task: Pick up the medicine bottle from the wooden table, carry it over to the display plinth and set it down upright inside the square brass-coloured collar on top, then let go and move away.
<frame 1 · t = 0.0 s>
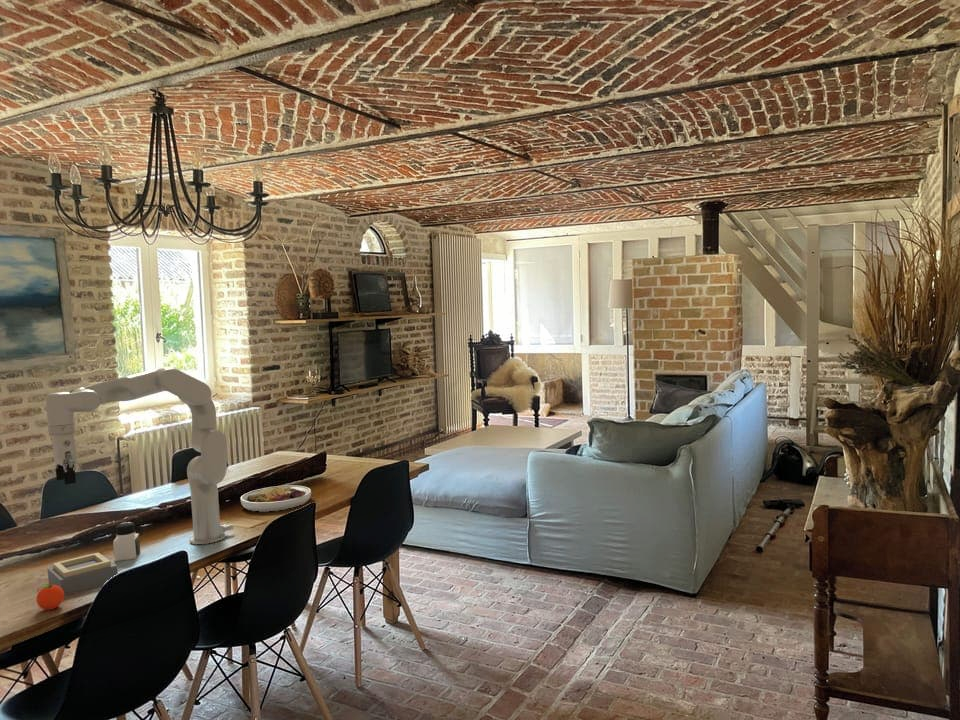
hand: (66, 481, 231), 31 cm above the table, tool pointing down, fingers open, 9 cm apart
bowl: (276, 505, 312), on the table
display plinth: (83, 582, 225), on the table
medicine bottle: (127, 557, 249), on the table
clementine: (49, 609, 205), on the table
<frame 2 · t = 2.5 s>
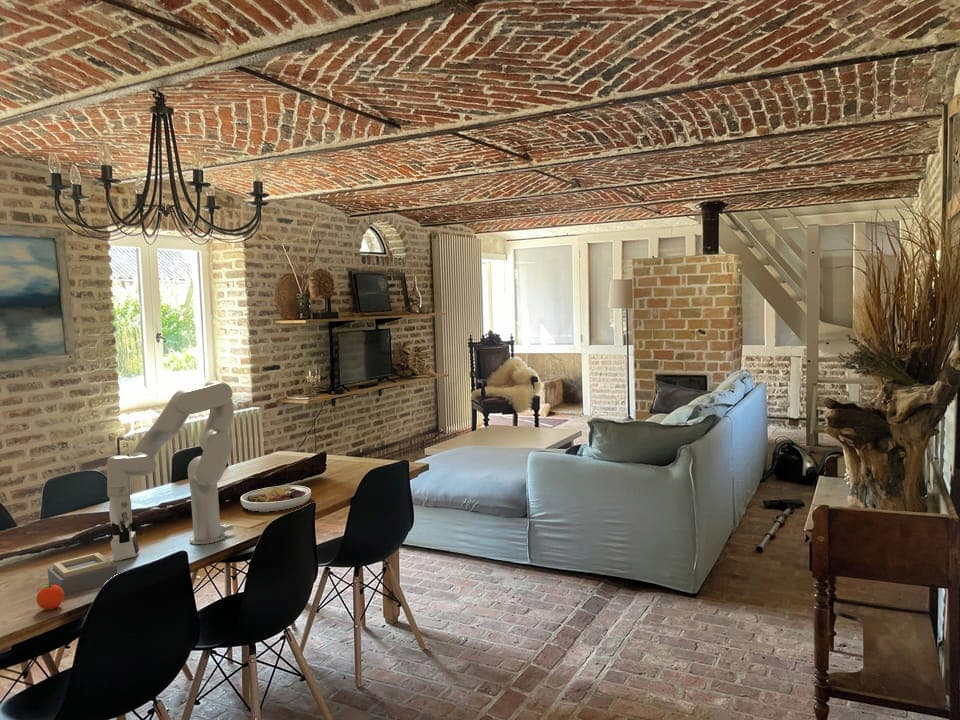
hand: (119, 539, 247), 7 cm above the table, tool pointing down, fingers open, 9 cm apart
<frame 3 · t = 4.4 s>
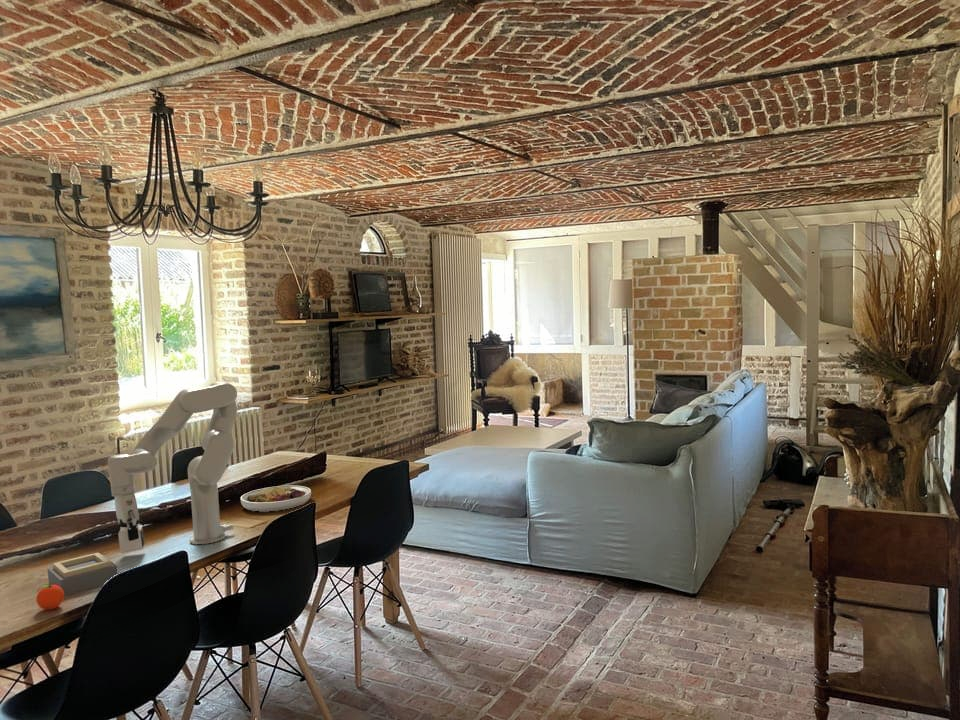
hand: (129, 536, 249), 7 cm above the table, tool pointing down, fingers closed on medicine bottle, 9 cm apart
medicine bottle: (133, 549, 250), point 2 cm above the table, touching gripper
everything else where it was.
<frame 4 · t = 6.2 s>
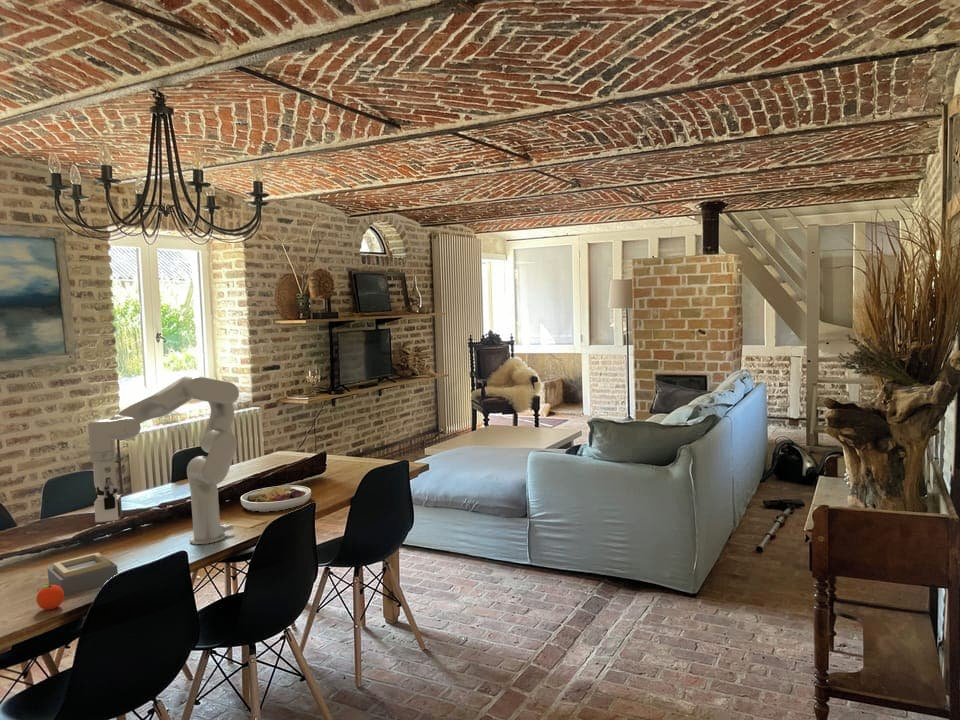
hand: (105, 506, 238), 21 cm above the table, tool pointing down, fingers closed on medicine bottle, 9 cm apart
medicine bottle: (109, 519, 239), point 16 cm above the table, touching gripper
everything else where it was.
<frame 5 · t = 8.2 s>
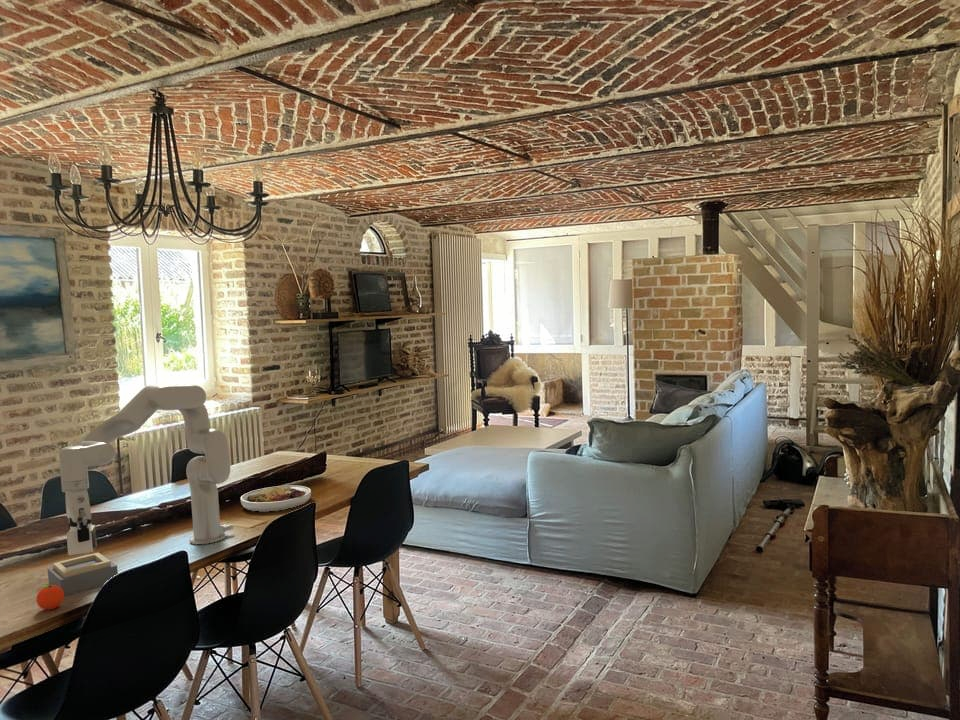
hand: (79, 538, 224), 14 cm above the table, tool pointing down, fingers closed on medicine bottle, 9 cm apart
medicine bottle: (83, 551, 225), point 10 cm above the table, touching gripper
everything else where it was.
when the fingers open (11 cm above the table, at t = 9.7 s): medicine bottle stays where it is, resting on display plinth.
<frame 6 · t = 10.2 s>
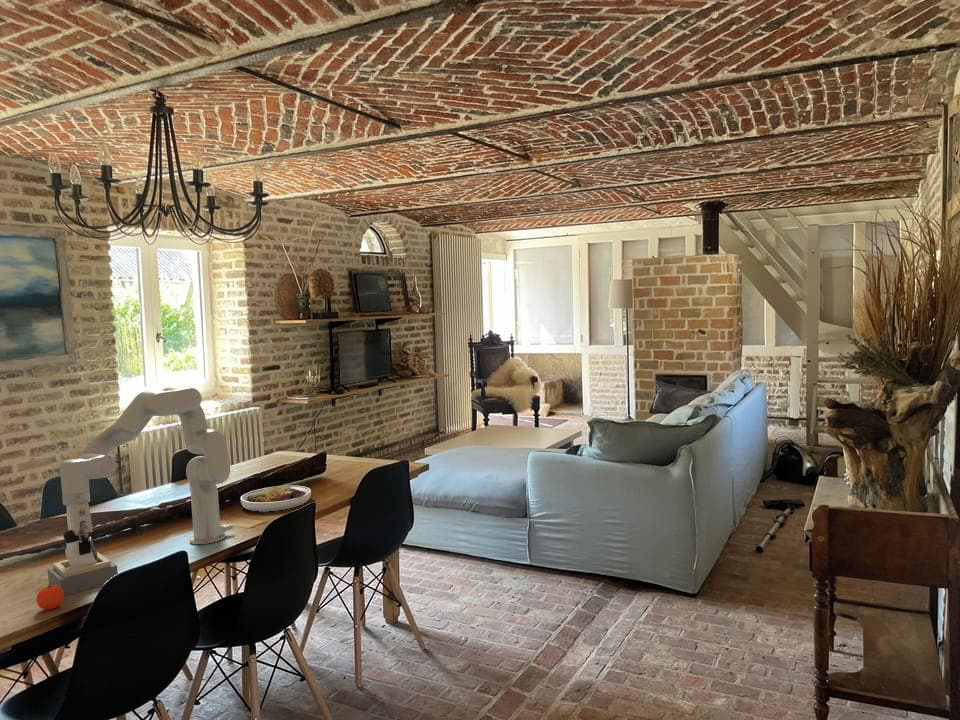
hand: (80, 550, 225), 10 cm above the table, tool pointing down, fingers open, 9 cm apart
medicine bottle: (85, 564, 225), point 6 cm above the table, touching display plinth
everything else where it was.
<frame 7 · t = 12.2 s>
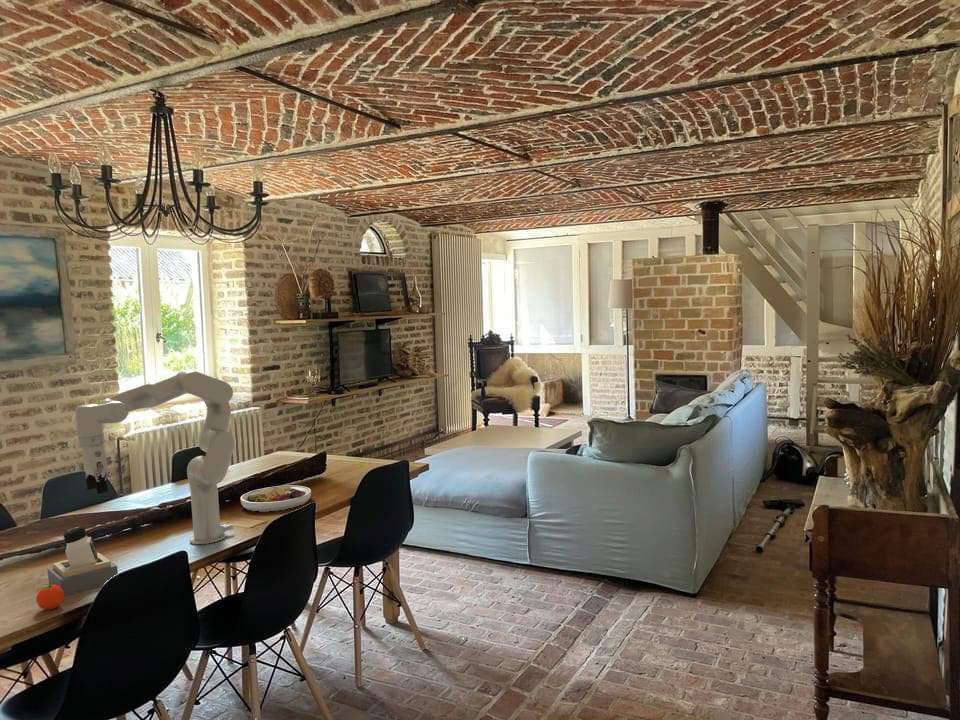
hand: (97, 490, 238), 26 cm above the table, tool pointing down, fingers open, 9 cm apart
nothing on the table moved.
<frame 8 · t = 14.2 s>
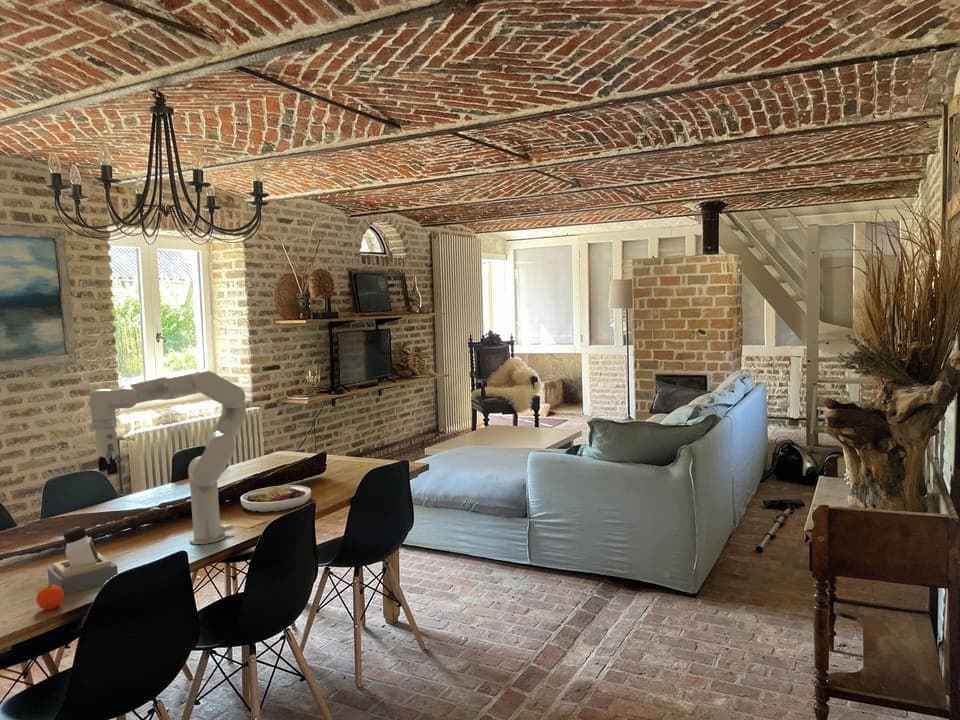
hand: (108, 472, 248), 30 cm above the table, tool pointing down, fingers open, 9 cm apart
nothing on the table moved.
at the end: medicine bottle 1.1 cm off-centre on the display plinth, point 5.6 cm above the display plinth's base; medicine bottle tilted 13°; the gripper is holding nothing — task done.
